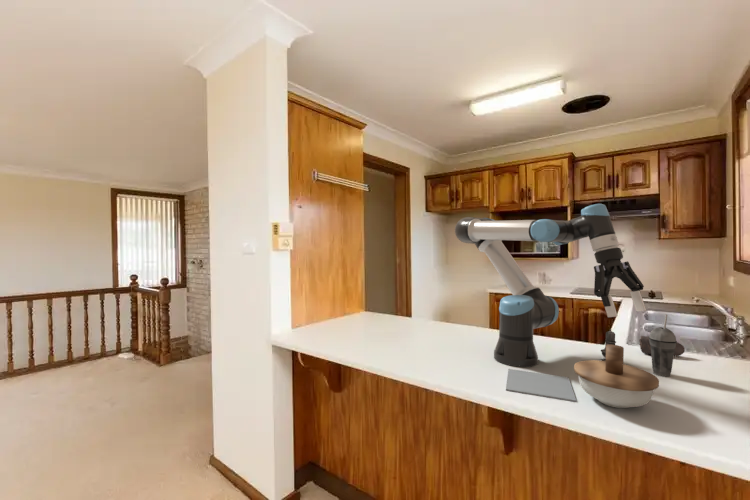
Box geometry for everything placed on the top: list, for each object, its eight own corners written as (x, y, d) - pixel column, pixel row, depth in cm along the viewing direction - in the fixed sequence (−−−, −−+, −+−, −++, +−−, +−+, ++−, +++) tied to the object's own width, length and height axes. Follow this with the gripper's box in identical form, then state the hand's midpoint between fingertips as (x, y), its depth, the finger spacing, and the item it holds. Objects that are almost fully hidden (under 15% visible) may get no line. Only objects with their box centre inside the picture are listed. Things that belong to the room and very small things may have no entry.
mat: (505, 390, 102) (505, 389, 102) (508, 369, 119) (508, 368, 119) (576, 401, 95) (576, 400, 95) (568, 378, 112) (568, 377, 112)
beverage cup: (642, 370, 119) (643, 312, 119) (661, 370, 120) (663, 312, 119) (661, 378, 112) (662, 316, 111) (682, 378, 112) (683, 316, 112)
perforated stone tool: (681, 355, 136) (682, 337, 136) (688, 359, 131) (688, 341, 131) (635, 351, 141) (635, 334, 141) (639, 354, 136) (640, 337, 136)
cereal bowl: (583, 409, 91) (584, 382, 91) (573, 385, 106) (574, 362, 106) (664, 422, 84) (664, 393, 84) (641, 394, 100) (641, 370, 100)
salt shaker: (622, 364, 125) (623, 331, 125) (604, 363, 126) (605, 330, 126) (615, 359, 131) (615, 327, 130) (597, 358, 132) (598, 326, 131)
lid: (579, 383, 90) (579, 352, 90) (570, 360, 108) (570, 334, 108) (671, 396, 83) (671, 362, 83) (645, 370, 100) (646, 341, 100)
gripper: (590, 249, 107) (611, 318, 103) (642, 244, 117) (664, 307, 112) (569, 255, 114) (589, 320, 109) (620, 250, 123) (640, 310, 118)
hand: (627, 314), depth 111 cm, fingers open, 13 cm apart
